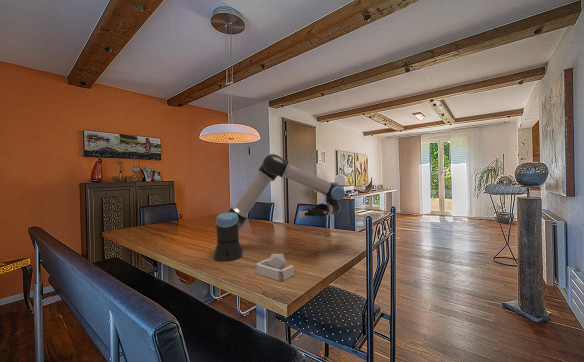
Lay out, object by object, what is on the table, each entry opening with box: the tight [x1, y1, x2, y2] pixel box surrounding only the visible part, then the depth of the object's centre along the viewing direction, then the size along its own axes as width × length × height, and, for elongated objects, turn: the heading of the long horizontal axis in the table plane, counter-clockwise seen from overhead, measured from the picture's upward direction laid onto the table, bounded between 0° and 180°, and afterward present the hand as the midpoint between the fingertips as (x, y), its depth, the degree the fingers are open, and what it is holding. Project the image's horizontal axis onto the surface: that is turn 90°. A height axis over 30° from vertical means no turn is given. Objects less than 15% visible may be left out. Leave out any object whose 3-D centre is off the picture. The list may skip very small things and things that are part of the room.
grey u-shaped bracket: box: [253, 258, 295, 282], centre depth 109 cm, size 16×8×4 cm, turn 51°
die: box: [268, 253, 287, 270], centre depth 112 cm, size 8×9×10 cm
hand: (299, 214), depth 124 cm, fingers closed
